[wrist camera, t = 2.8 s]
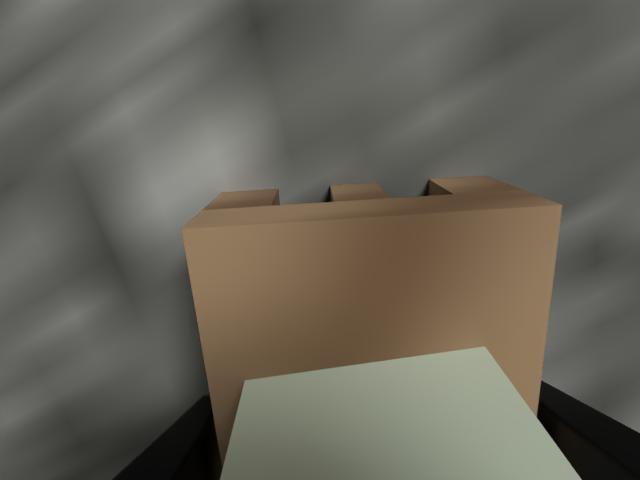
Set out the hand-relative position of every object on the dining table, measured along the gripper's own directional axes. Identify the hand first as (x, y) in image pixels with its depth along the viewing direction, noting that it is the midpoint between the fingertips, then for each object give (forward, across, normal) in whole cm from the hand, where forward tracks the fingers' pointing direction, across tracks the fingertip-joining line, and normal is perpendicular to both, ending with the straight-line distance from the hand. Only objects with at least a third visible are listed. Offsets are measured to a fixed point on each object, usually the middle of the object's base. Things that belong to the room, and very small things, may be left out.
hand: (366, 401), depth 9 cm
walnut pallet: (+2, 0, 0) cm, 2 cm away
